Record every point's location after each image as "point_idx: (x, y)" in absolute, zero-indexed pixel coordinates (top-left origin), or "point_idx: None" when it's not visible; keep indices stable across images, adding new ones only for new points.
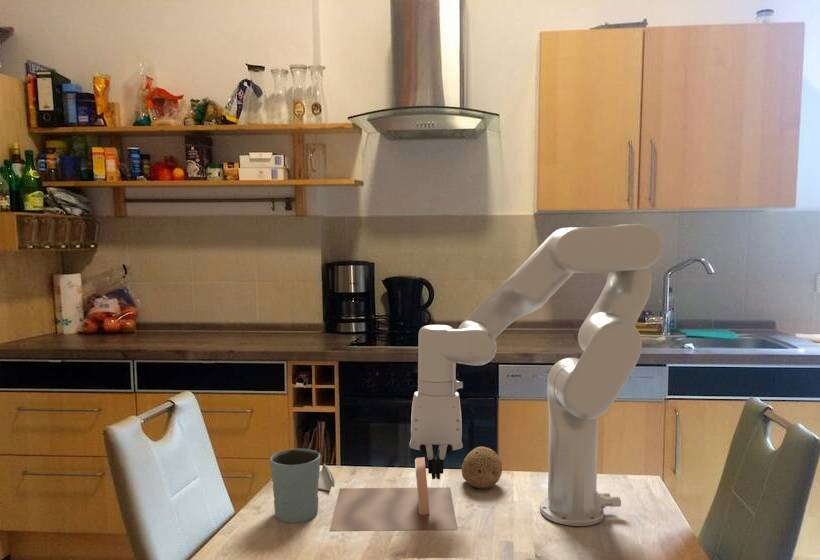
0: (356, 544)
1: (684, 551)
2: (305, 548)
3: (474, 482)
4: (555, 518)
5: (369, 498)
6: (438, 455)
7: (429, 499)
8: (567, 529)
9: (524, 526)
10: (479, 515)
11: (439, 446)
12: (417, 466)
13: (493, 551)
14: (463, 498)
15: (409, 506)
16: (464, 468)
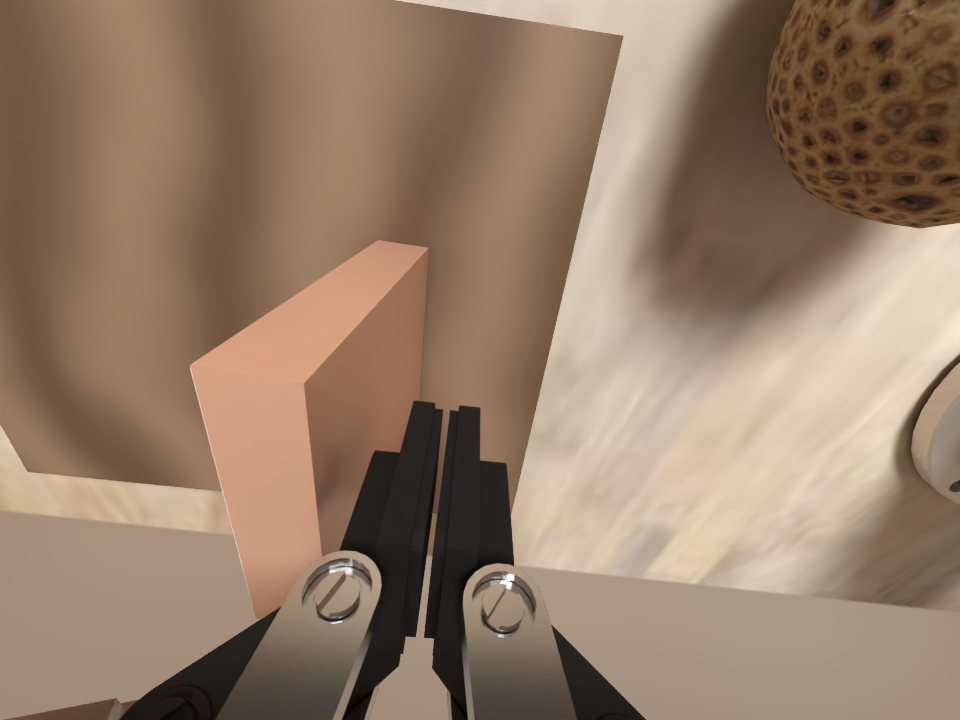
0: (169, 490)
1: None
2: (9, 490)
3: (797, 178)
4: (927, 475)
5: (55, 167)
6: (441, 680)
7: (437, 239)
8: (909, 497)
9: (779, 462)
10: (657, 359)
11: (471, 718)
12: (251, 562)
13: (590, 565)
14: (668, 139)
15: None
16: (835, 58)
